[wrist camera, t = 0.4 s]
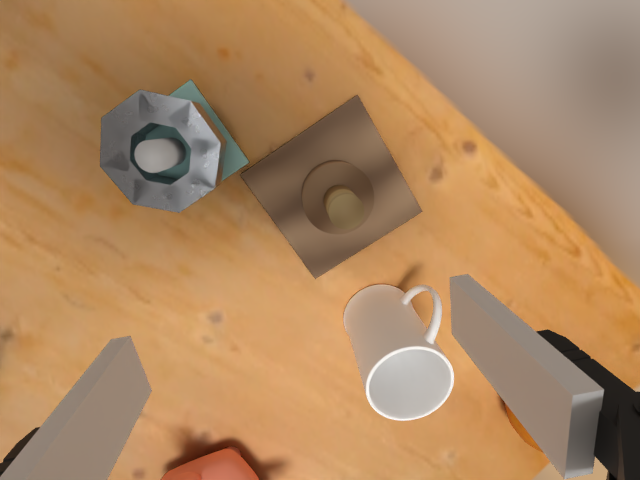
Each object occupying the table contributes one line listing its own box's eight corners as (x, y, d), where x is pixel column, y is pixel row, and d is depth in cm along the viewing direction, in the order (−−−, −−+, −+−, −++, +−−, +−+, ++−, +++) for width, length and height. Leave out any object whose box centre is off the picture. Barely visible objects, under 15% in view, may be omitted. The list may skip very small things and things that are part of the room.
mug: (387, 248, 40) (426, 297, 29) (443, 284, 42) (500, 343, 31) (329, 326, 43) (343, 400, 31) (384, 356, 45) (417, 436, 33)
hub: (240, 174, 36) (226, 188, 28) (356, 95, 35) (377, 86, 27) (314, 277, 40) (321, 315, 32) (421, 210, 39) (455, 233, 31)
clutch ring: (95, 135, 30) (75, 137, 27) (179, 74, 29) (167, 69, 26) (166, 220, 33) (154, 229, 30) (244, 166, 32) (240, 170, 29)
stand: (116, 134, 34) (59, 138, 25) (191, 79, 33) (158, 64, 24) (178, 210, 37) (145, 236, 28) (249, 162, 36) (237, 174, 27)
